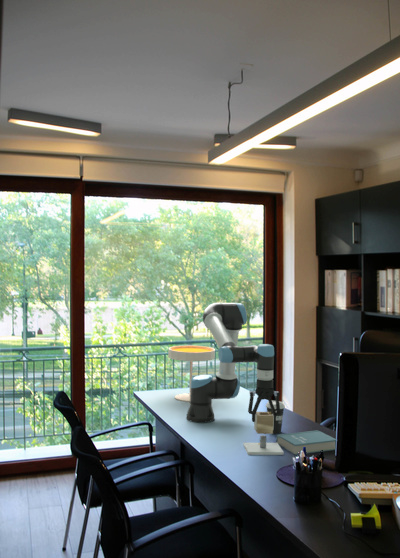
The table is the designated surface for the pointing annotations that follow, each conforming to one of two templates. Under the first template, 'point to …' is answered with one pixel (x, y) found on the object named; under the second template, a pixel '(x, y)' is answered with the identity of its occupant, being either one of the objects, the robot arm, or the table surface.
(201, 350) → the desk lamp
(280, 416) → the coffee cup
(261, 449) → the plate
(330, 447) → the book
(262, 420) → the wooden cubby shelf
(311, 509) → the table surface
